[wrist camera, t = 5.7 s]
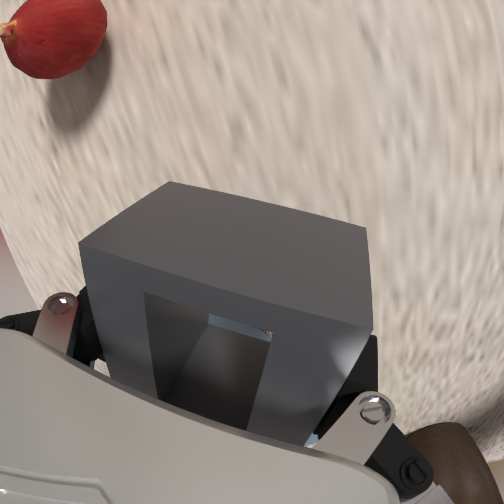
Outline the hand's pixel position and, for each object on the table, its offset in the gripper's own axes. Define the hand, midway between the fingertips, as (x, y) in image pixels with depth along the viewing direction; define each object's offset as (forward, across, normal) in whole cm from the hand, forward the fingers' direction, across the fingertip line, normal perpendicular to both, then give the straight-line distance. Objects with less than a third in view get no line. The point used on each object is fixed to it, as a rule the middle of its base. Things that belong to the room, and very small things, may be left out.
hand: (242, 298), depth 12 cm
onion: (+7, +13, -10) cm, 19 cm away
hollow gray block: (+1, 0, 0) cm, 1 cm away
